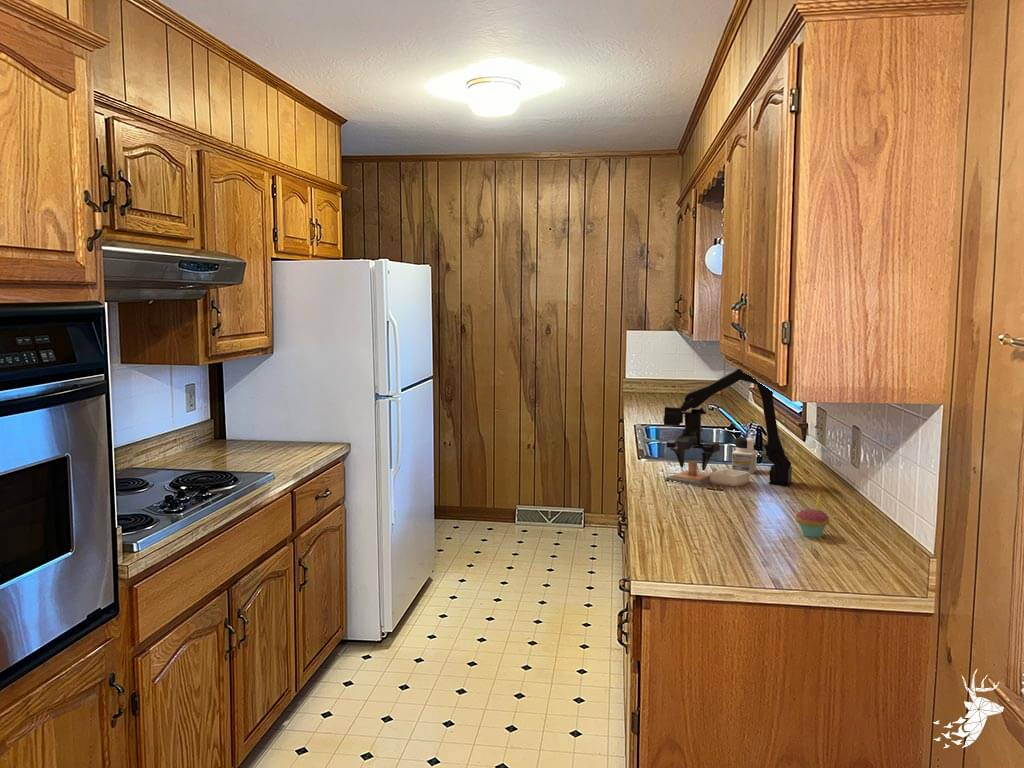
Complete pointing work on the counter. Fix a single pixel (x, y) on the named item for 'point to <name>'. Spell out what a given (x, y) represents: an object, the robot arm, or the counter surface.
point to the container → (744, 455)
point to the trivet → (689, 481)
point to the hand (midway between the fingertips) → (692, 468)
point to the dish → (729, 477)
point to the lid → (692, 473)
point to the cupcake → (812, 521)
